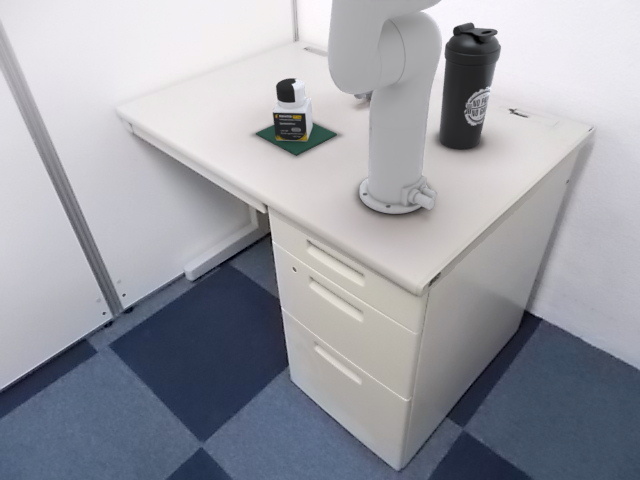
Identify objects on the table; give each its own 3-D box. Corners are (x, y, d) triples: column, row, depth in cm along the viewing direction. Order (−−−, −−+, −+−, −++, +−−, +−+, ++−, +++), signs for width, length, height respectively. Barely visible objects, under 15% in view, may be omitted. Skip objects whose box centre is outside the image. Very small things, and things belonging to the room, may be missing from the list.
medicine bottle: (275, 141, 108) (269, 88, 100) (282, 125, 113) (277, 74, 106) (307, 142, 107) (303, 89, 99) (313, 126, 112) (309, 75, 105)
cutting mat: (336, 135, 110) (336, 133, 109) (296, 155, 104) (296, 154, 103) (295, 116, 118) (295, 114, 117) (255, 134, 112) (255, 132, 111)
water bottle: (458, 156, 100) (476, 41, 85) (424, 137, 107) (435, 27, 92) (494, 142, 104) (516, 28, 89) (459, 124, 111) (475, 16, 96)
